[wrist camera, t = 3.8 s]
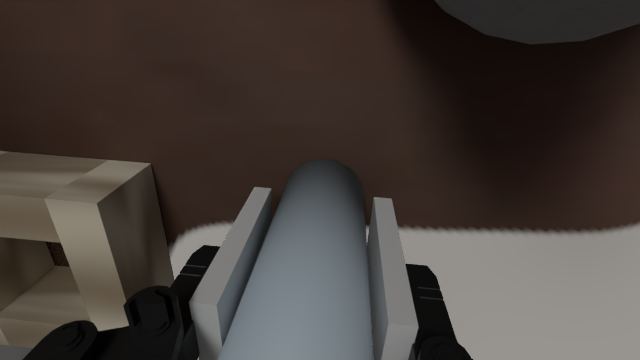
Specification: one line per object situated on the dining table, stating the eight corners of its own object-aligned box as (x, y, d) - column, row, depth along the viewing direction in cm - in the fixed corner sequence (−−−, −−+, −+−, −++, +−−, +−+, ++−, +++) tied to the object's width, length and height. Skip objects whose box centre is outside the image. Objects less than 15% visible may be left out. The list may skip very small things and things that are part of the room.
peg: (285, 156, 16) (150, 440, 5) (368, 162, 16) (398, 473, 5) (285, 224, 18) (184, 537, 7) (359, 230, 18) (368, 564, 7)
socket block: (-32, 148, 17) (-131, 182, 14) (150, 163, 17) (96, 203, 13) (33, 288, 22) (-28, 341, 18) (178, 303, 21) (144, 361, 18)
